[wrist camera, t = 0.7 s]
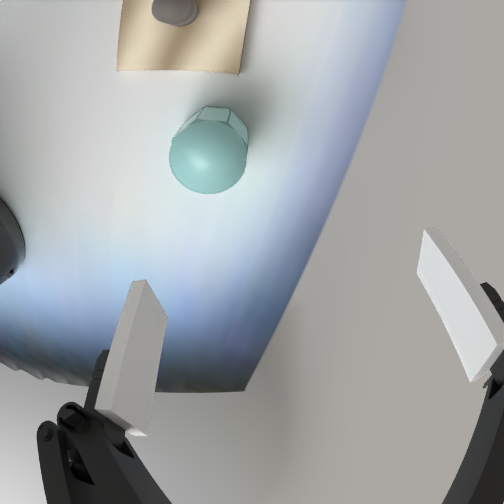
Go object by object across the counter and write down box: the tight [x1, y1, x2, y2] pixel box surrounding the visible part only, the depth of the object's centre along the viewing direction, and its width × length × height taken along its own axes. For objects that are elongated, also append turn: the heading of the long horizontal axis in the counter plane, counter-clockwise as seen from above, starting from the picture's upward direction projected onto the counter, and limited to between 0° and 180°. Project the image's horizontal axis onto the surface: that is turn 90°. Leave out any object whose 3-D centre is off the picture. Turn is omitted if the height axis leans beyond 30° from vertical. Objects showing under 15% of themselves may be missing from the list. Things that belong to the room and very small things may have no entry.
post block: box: [117, 0, 250, 74], centre depth 17 cm, size 11×11×5 cm
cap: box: [169, 107, 248, 194], centre depth 25 cm, size 6×6×6 cm
